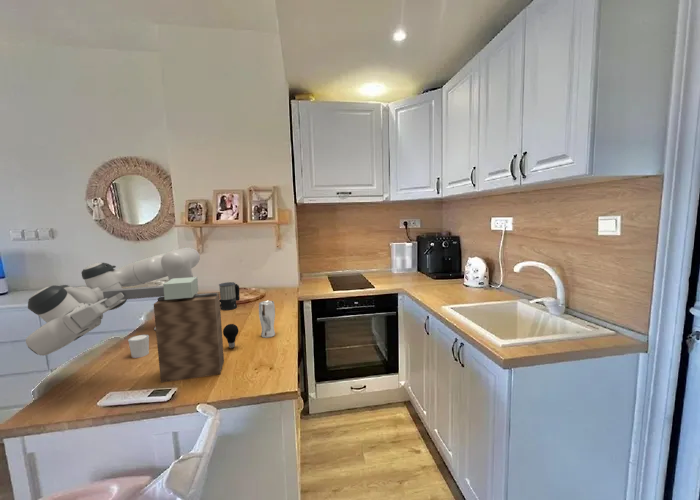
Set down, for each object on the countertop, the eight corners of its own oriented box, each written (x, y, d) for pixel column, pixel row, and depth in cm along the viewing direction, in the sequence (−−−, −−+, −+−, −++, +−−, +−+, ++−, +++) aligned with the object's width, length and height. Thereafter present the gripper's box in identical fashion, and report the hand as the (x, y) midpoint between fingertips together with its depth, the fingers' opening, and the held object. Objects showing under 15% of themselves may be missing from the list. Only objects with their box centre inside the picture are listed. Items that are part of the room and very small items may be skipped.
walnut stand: (160, 382, 102) (153, 301, 100) (169, 368, 112) (163, 294, 109) (220, 374, 107) (214, 296, 104) (224, 361, 117) (218, 290, 114)
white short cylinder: (136, 351, 128) (134, 334, 127) (154, 350, 128) (152, 333, 128) (125, 359, 121) (123, 341, 120) (144, 357, 122) (142, 340, 121)
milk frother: (233, 310, 183) (231, 285, 181) (206, 311, 183) (204, 285, 181) (242, 303, 197) (240, 280, 195) (217, 304, 197) (215, 280, 196)
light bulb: (230, 352, 125) (228, 327, 123) (221, 349, 128) (219, 325, 127) (242, 346, 129) (241, 323, 128) (233, 344, 133) (231, 321, 132)
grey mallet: (98, 305, 96) (96, 289, 95) (113, 297, 106) (112, 282, 105) (192, 297, 103) (190, 282, 102) (198, 290, 112) (197, 276, 112)
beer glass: (272, 338, 138) (270, 305, 136) (257, 337, 139) (255, 304, 137) (278, 332, 144) (277, 300, 143) (264, 332, 146) (262, 300, 144)
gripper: (107, 315, 110) (144, 293, 113) (73, 336, 91) (119, 308, 93) (94, 301, 109) (132, 278, 111) (57, 319, 89) (104, 291, 92)
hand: (126, 292), depth 102 cm, fingers open, 3 cm apart
